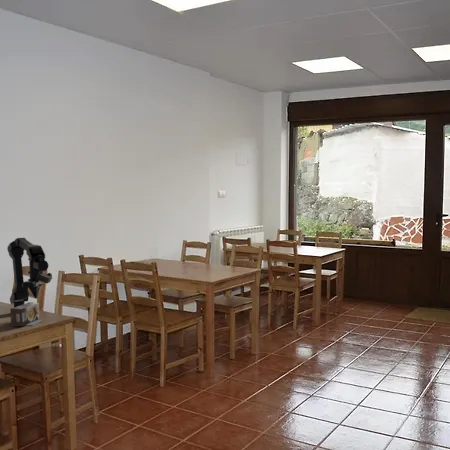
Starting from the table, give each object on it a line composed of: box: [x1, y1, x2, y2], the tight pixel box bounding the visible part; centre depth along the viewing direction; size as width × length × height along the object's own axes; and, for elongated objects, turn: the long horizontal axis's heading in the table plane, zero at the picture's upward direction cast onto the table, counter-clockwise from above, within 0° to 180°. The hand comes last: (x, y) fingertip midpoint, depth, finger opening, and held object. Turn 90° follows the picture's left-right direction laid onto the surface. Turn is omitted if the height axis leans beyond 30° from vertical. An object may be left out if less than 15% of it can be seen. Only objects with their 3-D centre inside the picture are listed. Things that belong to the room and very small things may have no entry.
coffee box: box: [9, 301, 40, 327], centre depth 282 cm, size 9×6×16 cm
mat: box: [22, 319, 43, 327], centre depth 283 cm, size 11×9×1 cm
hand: (35, 297), depth 291 cm, fingers closed
